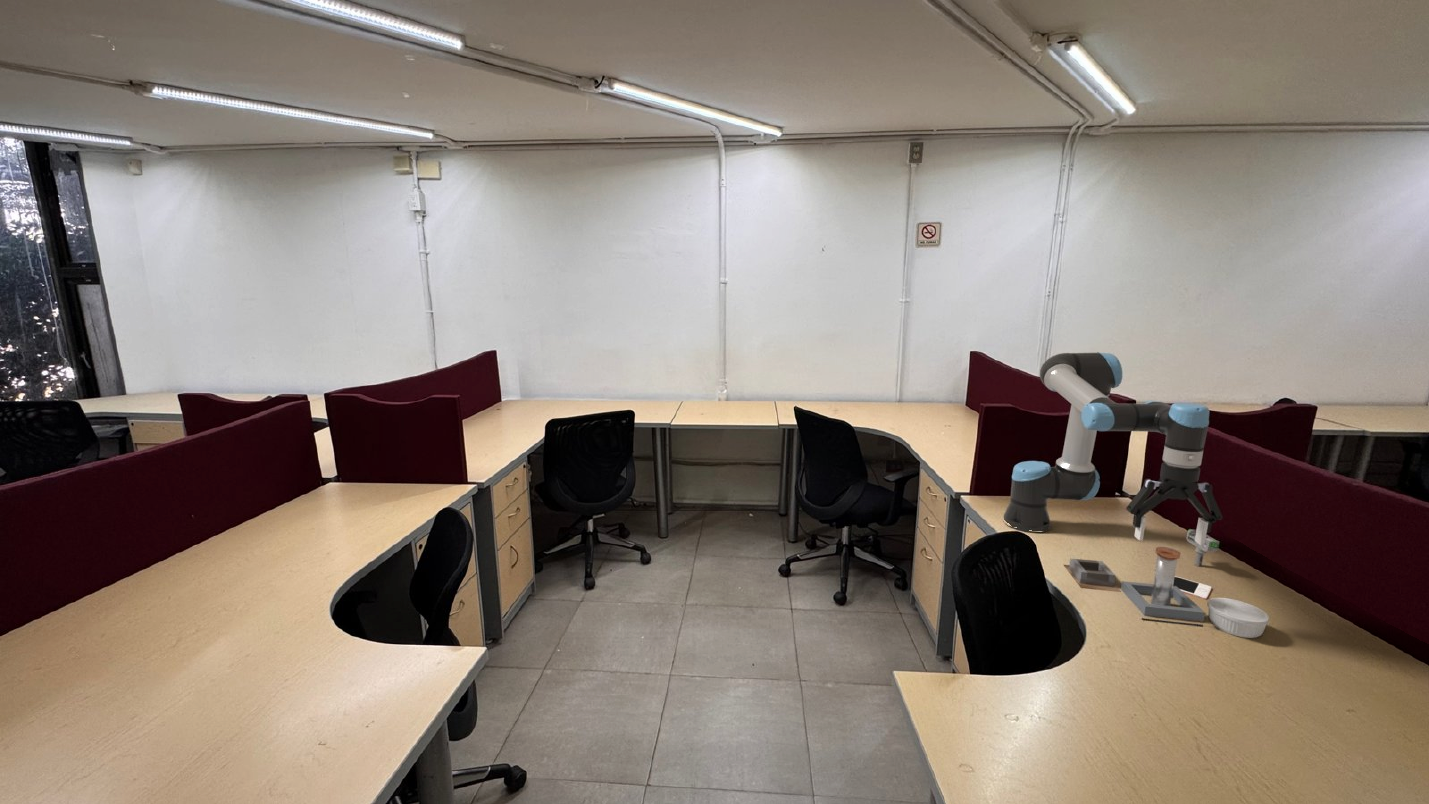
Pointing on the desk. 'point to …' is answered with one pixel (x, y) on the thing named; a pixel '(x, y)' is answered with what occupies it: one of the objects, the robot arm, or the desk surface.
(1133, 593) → the tray
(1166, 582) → the glass jar with lid
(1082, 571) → the block
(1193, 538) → the mechanical component
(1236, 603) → the ramekin
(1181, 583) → the cell phone
